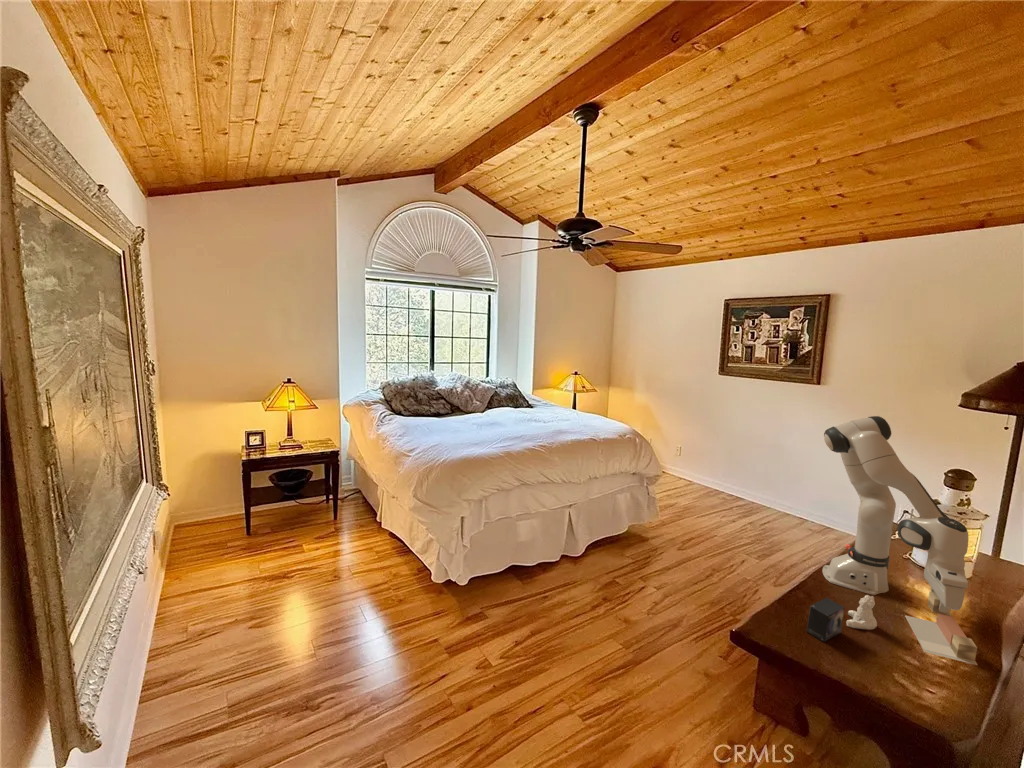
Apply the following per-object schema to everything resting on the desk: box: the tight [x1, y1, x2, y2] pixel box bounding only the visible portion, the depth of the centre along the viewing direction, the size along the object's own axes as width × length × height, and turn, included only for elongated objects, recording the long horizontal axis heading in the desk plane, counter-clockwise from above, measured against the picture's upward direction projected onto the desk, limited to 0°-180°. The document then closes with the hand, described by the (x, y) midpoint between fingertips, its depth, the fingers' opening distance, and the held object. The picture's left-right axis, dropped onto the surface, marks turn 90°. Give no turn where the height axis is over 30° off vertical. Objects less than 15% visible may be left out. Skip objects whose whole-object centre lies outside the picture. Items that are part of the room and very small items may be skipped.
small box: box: [806, 597, 845, 643], centre depth 162 cm, size 11×6×10 cm, turn 117°
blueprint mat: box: [904, 614, 979, 666], centre depth 160 cm, size 14×20×1 cm, turn 154°
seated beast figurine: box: [845, 594, 878, 631], centre depth 166 cm, size 10×9×12 cm
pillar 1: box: [927, 590, 952, 616], centre depth 153 cm, size 4×4×5 cm
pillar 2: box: [951, 635, 978, 661], centre depth 152 cm, size 4×4×5 cm
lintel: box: [935, 613, 968, 645], centre depth 161 cm, size 4×12×4 cm, turn 154°
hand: (938, 605), depth 153 cm, fingers closed on pillar 1, 4 cm apart
